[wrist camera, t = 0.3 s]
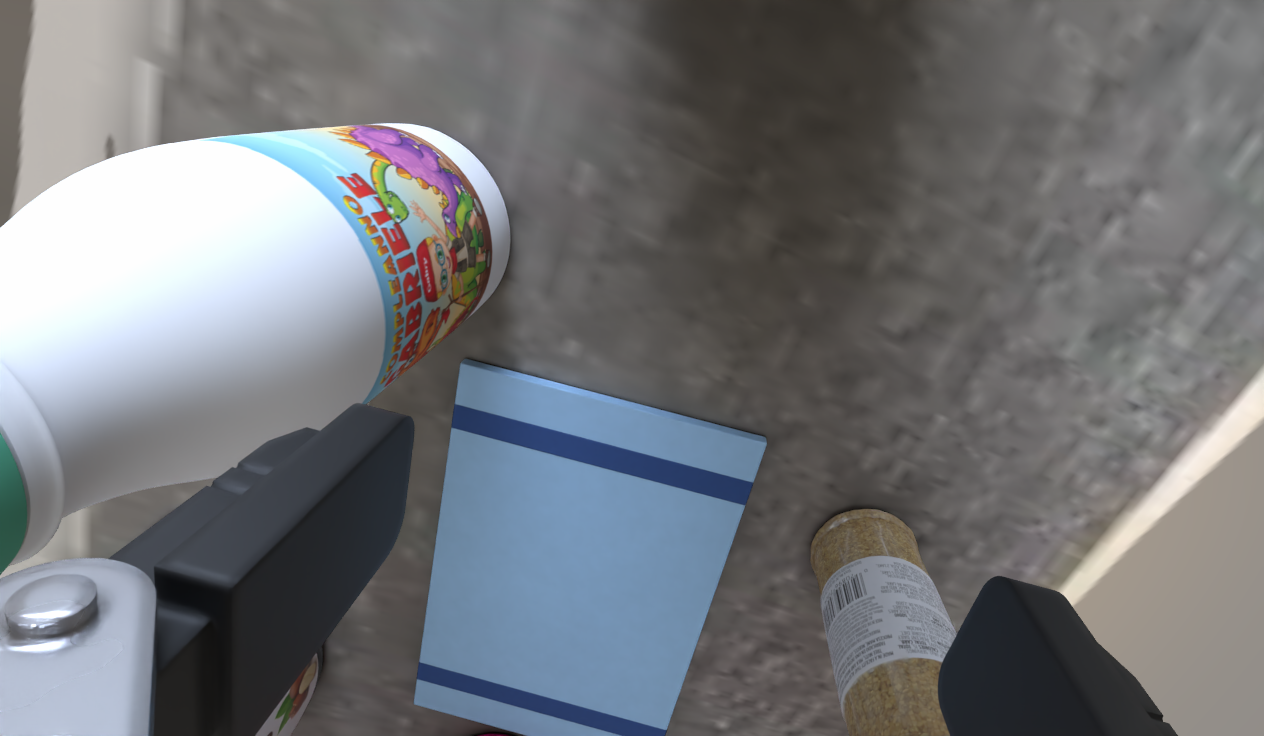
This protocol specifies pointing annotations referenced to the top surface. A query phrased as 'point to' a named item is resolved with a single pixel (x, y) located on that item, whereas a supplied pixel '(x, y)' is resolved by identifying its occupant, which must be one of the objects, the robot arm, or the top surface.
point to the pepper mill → (494, 734)
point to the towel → (575, 556)
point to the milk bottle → (224, 304)
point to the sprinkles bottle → (881, 625)
